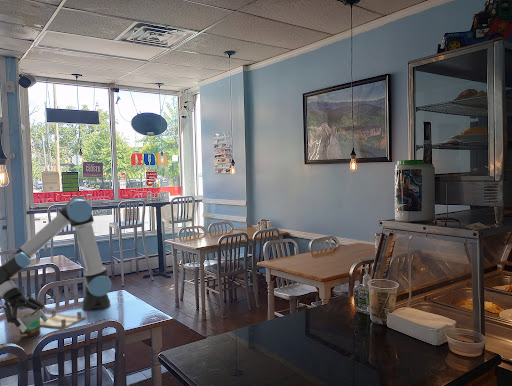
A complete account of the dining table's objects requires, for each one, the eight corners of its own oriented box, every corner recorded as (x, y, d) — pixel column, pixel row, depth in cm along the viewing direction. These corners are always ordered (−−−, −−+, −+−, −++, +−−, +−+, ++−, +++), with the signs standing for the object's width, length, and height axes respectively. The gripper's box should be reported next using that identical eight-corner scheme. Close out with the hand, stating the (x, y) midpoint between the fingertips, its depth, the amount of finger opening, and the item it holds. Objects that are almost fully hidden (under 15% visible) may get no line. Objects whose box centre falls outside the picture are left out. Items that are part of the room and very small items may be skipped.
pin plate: (53, 315, 221) (53, 308, 221) (85, 318, 215) (84, 311, 214) (31, 325, 207) (30, 317, 206) (64, 329, 200) (63, 321, 200)
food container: (29, 339, 188) (28, 318, 187) (18, 339, 189) (16, 318, 188) (48, 329, 200) (46, 309, 199) (37, 328, 201) (36, 309, 200)
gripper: (26, 289, 209) (51, 321, 205) (-18, 305, 186) (9, 340, 182) (34, 280, 207) (59, 311, 203) (-10, 294, 184) (18, 330, 180)
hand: (36, 325), depth 193 cm, fingers closed on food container, 12 cm apart
